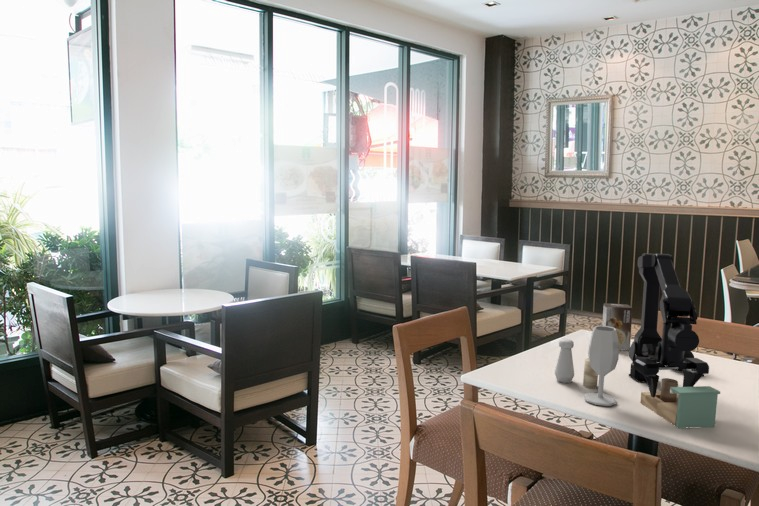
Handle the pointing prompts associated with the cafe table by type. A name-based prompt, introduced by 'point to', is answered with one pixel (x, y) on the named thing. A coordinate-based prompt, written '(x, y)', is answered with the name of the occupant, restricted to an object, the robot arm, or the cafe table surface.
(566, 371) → the salt shaker
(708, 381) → the cafe table surface
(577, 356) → the cafe table surface
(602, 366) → the wineglass
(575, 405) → the cafe table surface
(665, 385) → the walnut peg
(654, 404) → the socket block
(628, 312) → the coffee box
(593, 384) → the maple peg
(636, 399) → the cafe table surface
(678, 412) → the teal l-shaped bracket
